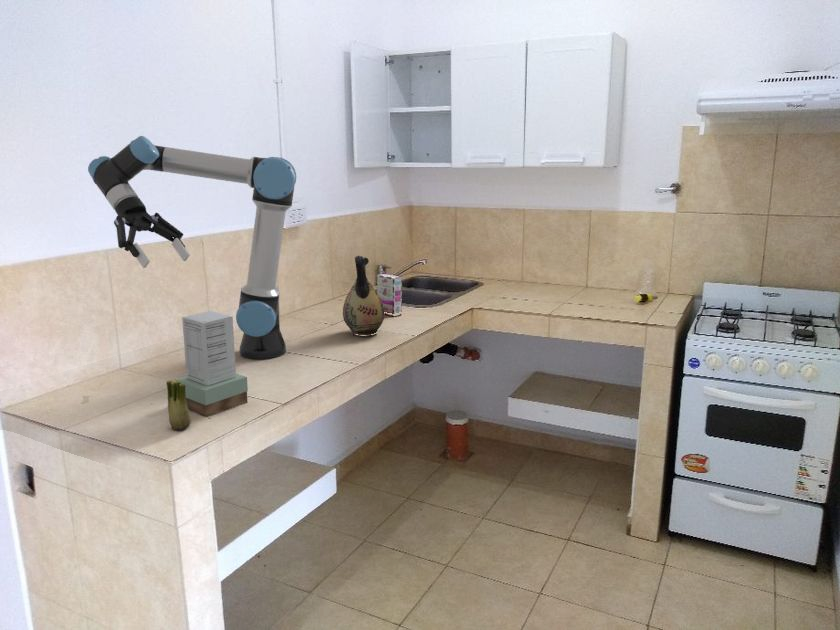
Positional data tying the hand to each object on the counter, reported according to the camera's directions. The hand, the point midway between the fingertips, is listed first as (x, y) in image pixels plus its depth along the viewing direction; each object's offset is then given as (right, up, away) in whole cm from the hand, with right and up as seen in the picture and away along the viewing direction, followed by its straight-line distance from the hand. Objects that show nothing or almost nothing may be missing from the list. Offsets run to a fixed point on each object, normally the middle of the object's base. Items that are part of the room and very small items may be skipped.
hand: (167, 261), depth 180 cm
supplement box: (+15, -32, -9) cm, 36 cm away
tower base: (+15, -39, -7) cm, 43 cm away
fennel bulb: (+12, -43, -22) cm, 50 cm away
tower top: (+15, -36, -8) cm, 39 cm away
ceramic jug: (+49, -22, +62) cm, 82 cm away
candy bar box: (+57, -15, +93) cm, 111 cm away
